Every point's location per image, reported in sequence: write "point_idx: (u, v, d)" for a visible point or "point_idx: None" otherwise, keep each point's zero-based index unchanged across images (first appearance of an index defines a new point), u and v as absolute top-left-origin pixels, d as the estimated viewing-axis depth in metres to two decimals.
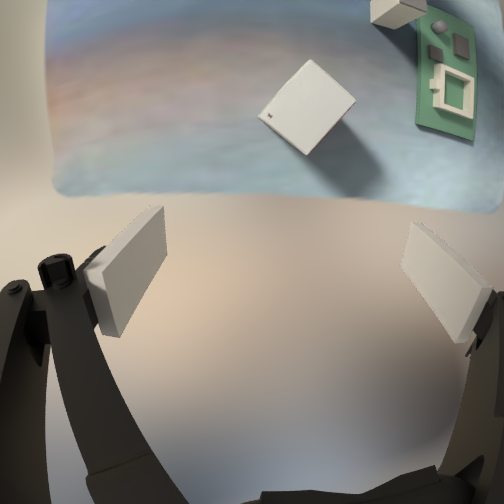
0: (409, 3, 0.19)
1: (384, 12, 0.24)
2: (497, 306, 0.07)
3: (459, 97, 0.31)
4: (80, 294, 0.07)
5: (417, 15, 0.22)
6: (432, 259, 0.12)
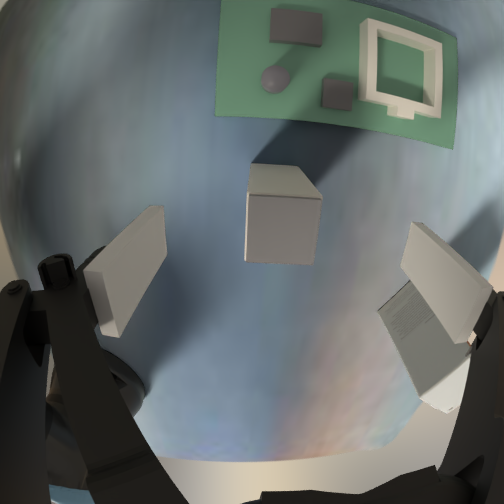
0: (311, 245, 0.16)
1: None
2: (497, 306, 0.07)
3: (401, 52, 0.18)
4: (80, 294, 0.07)
5: None
6: (432, 259, 0.12)
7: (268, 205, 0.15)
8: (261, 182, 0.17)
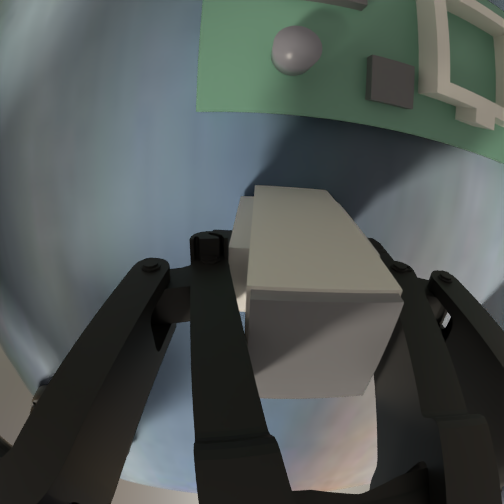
0: (366, 372, 0.08)
1: None
2: None
3: (469, 33, 0.09)
4: (229, 274, 0.09)
5: None
6: None
7: (293, 316, 0.07)
8: (275, 243, 0.09)
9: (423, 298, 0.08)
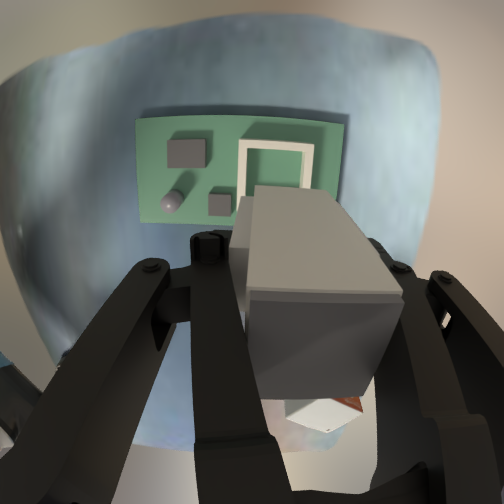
0: (367, 373, 0.07)
1: None
2: None
3: (279, 156, 0.29)
4: (229, 274, 0.09)
5: None
6: None
7: (293, 317, 0.07)
8: (275, 243, 0.09)
9: (423, 298, 0.08)
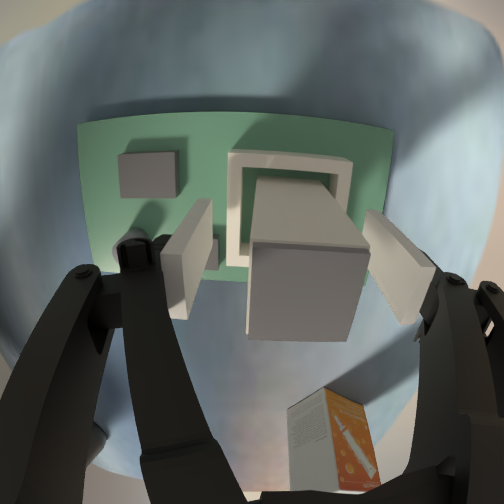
0: (347, 317, 0.10)
1: None
2: (442, 289, 0.08)
3: None
4: (158, 279, 0.08)
5: None
6: (381, 243, 0.13)
7: (284, 261, 0.09)
8: (272, 214, 0.11)
9: (472, 309, 0.07)
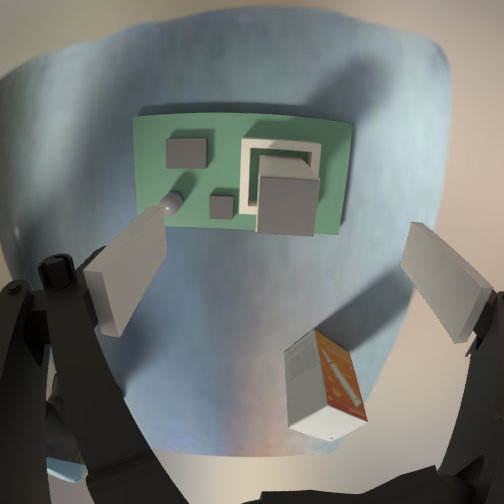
0: (311, 219, 0.19)
1: None
2: (497, 306, 0.07)
3: None
4: (80, 294, 0.07)
5: None
6: (432, 259, 0.12)
7: (275, 185, 0.18)
8: (269, 168, 0.20)
9: None
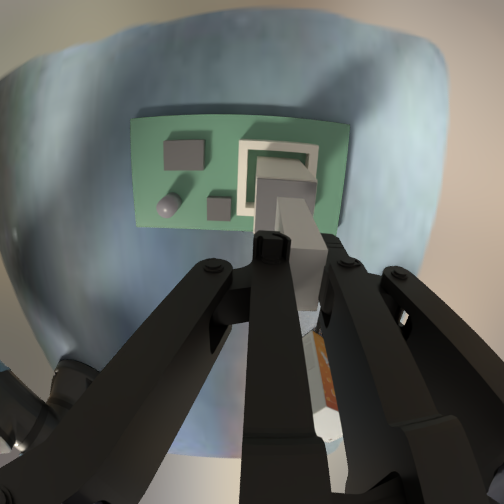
0: None
1: None
2: (335, 277, 0.09)
3: None
4: (290, 275, 0.09)
5: None
6: None
7: (273, 186, 0.18)
8: (267, 170, 0.20)
9: (375, 293, 0.08)
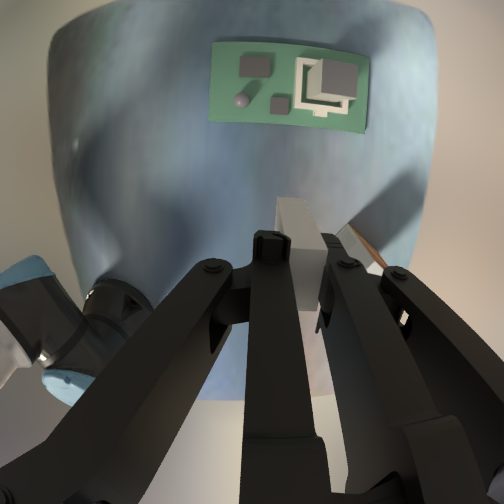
0: (354, 86, 0.25)
1: (343, 100, 0.30)
2: (335, 277, 0.09)
3: None
4: (290, 276, 0.09)
5: None
6: None
7: (332, 64, 0.24)
8: None
9: (375, 293, 0.08)
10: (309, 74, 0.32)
